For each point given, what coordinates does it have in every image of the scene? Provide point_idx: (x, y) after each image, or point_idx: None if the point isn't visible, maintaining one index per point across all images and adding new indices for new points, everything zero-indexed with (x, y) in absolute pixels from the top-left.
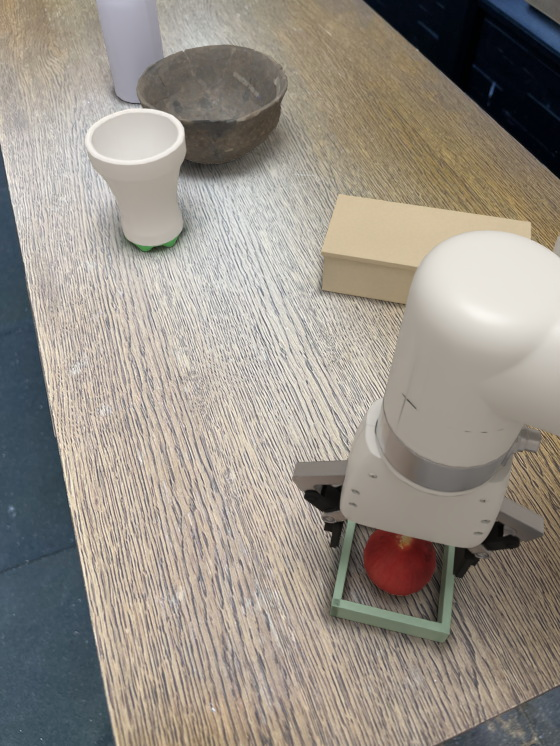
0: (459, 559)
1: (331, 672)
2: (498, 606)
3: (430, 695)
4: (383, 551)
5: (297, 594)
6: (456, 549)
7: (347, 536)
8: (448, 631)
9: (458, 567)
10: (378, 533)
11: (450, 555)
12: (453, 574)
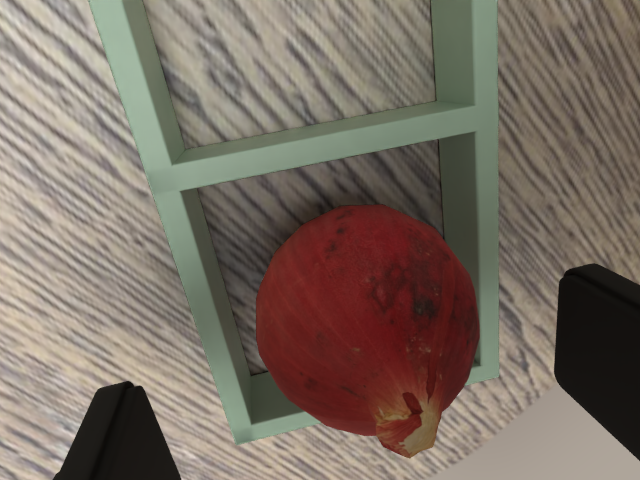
0: (633, 434)
1: (284, 464)
2: (565, 221)
3: (454, 415)
4: (333, 422)
5: (151, 390)
6: (580, 330)
7: (191, 285)
8: (496, 374)
9: (617, 437)
10: (291, 357)
11: (483, 207)
12: (562, 387)
